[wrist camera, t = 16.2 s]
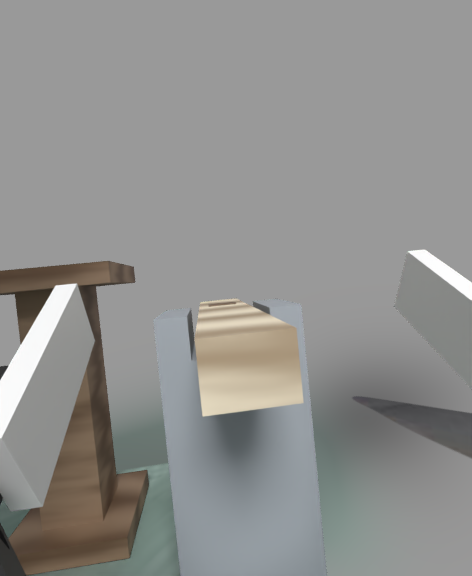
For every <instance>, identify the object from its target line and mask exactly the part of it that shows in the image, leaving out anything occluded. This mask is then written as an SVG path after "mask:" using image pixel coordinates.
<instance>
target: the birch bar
mask: <svg viewBox="0 0 472 576" xmlns="http://www.w3.org/2000/svg"><path fill="white" fill-rule="evenodd" d="M195 348H196V358H197V368H198V377H199V387H200V397H201V407H202V416H203V417H204V416H211V415H219V414H226V413H234V412H241V411H249V410H256V409H263V408H271V407H278V406H286V405H293V404H301V403H304V401H303V391H302V380H301V370H300V359H299V349H298V338H297V328H296V327H294V326H292V325H290V324H288V323H286V322H283V321H281V320H279V319H277V318H275V317H273V316H271V315H269V314H267V313H265V312H263V311H261V310H259V309H257V308H255V307H253V306H250V305H248V304H246V303H244V302H242V301H240V300H238V299H226V300H216V301H207V302H200V308H199V315H198V321H197V327H196V334H195Z"/></svg>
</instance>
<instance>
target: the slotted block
mask: <svg viewBox="0 0 472 576" xmlns="http://www.w3.org/2000/svg"><path fill="white" fill-rule="evenodd" d="M253 307H255V308H257V309H259V310H261V311H263V312H265V313H267V314H269V315H271V316H273V317H275V318H277V319H279V320H281V321H283V322H286V323H288V324H290V325H292V326H294V327H296V328H297V338H298V349H299V359H300V370H301V380H302V391H303V401H304V403H301V404H293V405H286V406H278V407H271V408H263V409H256V410H249V411H241V412H234V413H226V414H219V415H211V416H204V417H203V416H202V407H201V397H200V387H199V377H198V368H197V358H196V348H195V341H194V333H193V323H192V314H191V308H186V309H176V310H167V311H165V312H164V313H162V314H161V315H160V316H158V317H157V318H156V319H154V330H155V339H156V349H157V358H158V368H159V377H160V386H161V396H162V406H163V414H164V424H165V433H166V443H167V453H168V462H169V472H170V481H171V491H172V500H173V510H174V519H175V529H176V538H177V548H178V557H179V566H180V576H327V571H326V561H325V550H324V540H323V529H322V519H321V508H320V499H319V487H318V477H317V466H316V456H315V445H314V435H313V424H312V414H311V403H310V393H309V382H308V372H307V362H306V351H305V341H304V330H303V320H302V309H301V304H298V303H293V302H289V301H284V300H280V299H271V300H262V301H253Z"/></svg>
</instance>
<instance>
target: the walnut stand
mask: <svg viewBox="0 0 472 576" xmlns="http://www.w3.org/2000/svg"><path fill="white" fill-rule="evenodd" d="M76 283H77V285H78V288H79V291H80V294H81V298H82V301H83V304H84V307H85V310H86V314H87V317H88V320H89V323H90V326H91V330H92V333H93V336H94V339H95V342H94V345H93V348H92V352H91V355H90V358H89V361H88V364H87V368H86V371H85V374H84V377H83V380H82V383H81V387H80V390H79V393H78V396H77V399H76V402H75V406H74V409H73V412H72V415H71V418H70V422H69V425H68V428H67V431H66V434H65V437H64V441H63V444H62V447H61V450H60V453H59V456H58V460H57V463H56V466H55V469H54V472H53V475H52V479H51V482H50V485H49V488H48V491H47V495H46V498H45V501H44V504H43V507H38V508H31V510H30V511H29V512H28V514H27V515H26V516H25V518H24V519H23V520H22V521H21V523H20V524H19V525H18V527H17V528H16V529H15V531H14V532H13V533H12V535H11V536H10V537H9V539H8V540H9V542H10V544H11V546H12V548H13V550H14V552H15V554H16V556H17V558H18V560H19V562H20V564H21V566H22V568H23V570H24V572H25V574H26V575H32V574H38V573H44V572H50V571H56V570H62V569H68V568H74V567H79V566H85V565H91V564H97V563H103V562H109V561H115V560H121V559H127V558H130V554H131V551H132V547H133V543H134V539H135V536H136V532H137V528H138V524H139V521H140V517H141V513H142V509H143V506H144V502H145V498H146V494H147V490H148V487H149V482H148V472H147V470H143V471H137V472H130V473H123V474H116V467H115V458H114V449H113V440H112V432H111V422H110V413H109V404H108V394H107V385H106V377H105V367H104V358H103V348H102V339H101V330H100V321H99V312H98V304H97V293H96V286H105V285H115V284H126V283H135V275H134V267H132V266H128V265H124V264H119V263H115V262H110V261H103V262H92V263H82V264H70V265H59V266H48V267H38V268H26V269H16V270H5V271H0V295H9V294H15V298H16V308H17V316H18V325H19V334H20V342H21V344H22V342H23V341H24V339H25V337H26V335H27V334H28V332H29V330H30V329H31V327H32V325H33V323H34V322H35V320H36V318H37V317H38V315H39V313H40V312H41V310H42V308H43V306H44V305H45V303H46V301H47V300H48V298H49V296H50V294H51V293H52V291H53V289H54V288H55V286H56V285H66V284H76Z"/></svg>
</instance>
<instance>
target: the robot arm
mask: <svg viewBox="0 0 472 576" xmlns="http://www.w3.org/2000/svg"><path fill="white" fill-rule="evenodd" d="M394 307H395V308H396V309H397V310H398V311H399V312H400V314H402V316H403V317H404V318H405V319H406V320H407V321H408V322H409V323H410V324H411V325H412V326H413V327H414V329H416V331H417V332H418V333H419V334H420V335H421V336H422V337H423V338H424V339H425V340H426V341H427V342H428V344H429V345H430V346H431V347H432V348H433V349H434V350H435V351H436V352H437V353H438V354H439V355H440V356H441V357H442V359H444V361H445V362H446V363H447V364H448V365H449V366H450V367H451V368H452V369H453V370H454V371H455V372H456V373H457V375H458V376H459V377H461V379H462V380H463V381H464V382H465V383H466V384H467V385H468V386H469V387H470V388H471V389H472V283H471V282H470V281H469V280H467V279H466V278H464V277H463V276H461V275H460V274H459V273H457V272H456V271H454V270H453V269H451V268H450V267H449V266H447V265H446V264H444V263H443V262H442V261H440V260H439V259H437V258H436V257H435V256H433V255H432V254H430V253H429V252H427V251H426V250H416V251H408V252H407V255H406V259H405V264H404V267H403V272H402V276H401V280H400V284H399V288H398V293H397V297H396V301H395V305H394ZM94 342H95V339H94V336H93V333H92V330H91V326H90V323H89V320H88V317H87V314H86V310H85V307H84V304H83V301H82V298H81V294H80V291H79V288H78V285H77V283H76V284H66V285H56V286H55V288H54V289H53V291H52V293H51V294H50V296H49V298H48V300H47V301H46V303H45V305H44V306H43V308H42V310H41V312H40V313H39V315H38V317H37V318H36V320H35V322H34V323H33V325H32V327H31V329H30V330H29V332H28V334H27V335H26V337H25V339H24V341H23V342H22V344H21V346H20V347H19V349H18V351H17V353H16V354H15V356H14V358H13V360H12V361H11V363H10V365H9V366H1V367H0V504H1V502H2V500H3V501H4V502H5V504H6V505H7V507H8V508H9V510H10V511H11V512H12V511H19V510H25V509H31V508H38V507H43V504H44V501H45V498H46V495H47V491H48V488H49V485H50V482H51V479H52V475H53V472H54V469H55V466H56V463H57V460H58V456H59V453H60V450H61V447H62V444H63V441H64V437H65V434H66V431H67V428H68V425H69V422H70V418H71V415H72V412H73V409H74V406H75V402H76V399H77V396H78V393H79V390H80V387H81V383H82V380H83V377H84V374H85V371H86V368H87V364H88V361H89V358H90V355H91V352H92V348H93V345H94ZM0 576H26V574H25V572H24V570H23V568H22V566H21V564H20V562H19V560H18V558H17V556H16V554H15V552H14V550H13V548H12V546H11V544H10V542H9V540H8V538H7V536H6V534H5V532H4V530H3V528H2V526H1V524H0Z"/></svg>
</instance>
